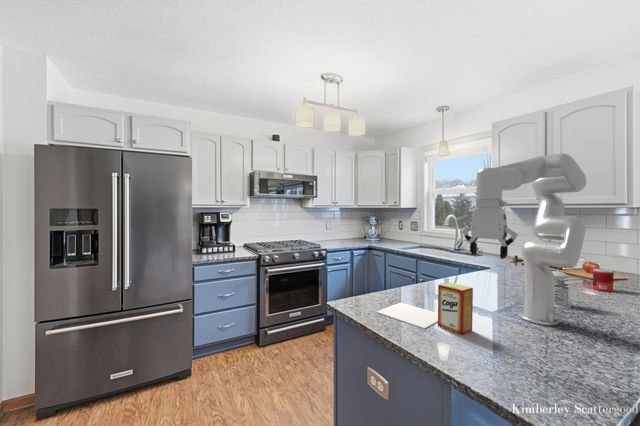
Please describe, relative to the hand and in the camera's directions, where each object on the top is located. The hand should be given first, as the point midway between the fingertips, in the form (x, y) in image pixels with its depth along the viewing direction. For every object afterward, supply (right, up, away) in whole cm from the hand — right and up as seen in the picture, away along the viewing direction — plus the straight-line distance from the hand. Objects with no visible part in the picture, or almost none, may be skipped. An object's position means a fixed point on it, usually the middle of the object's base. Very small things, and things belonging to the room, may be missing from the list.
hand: (488, 256), depth 99 cm
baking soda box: (-7, -28, +9) cm, 30 cm away
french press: (+52, -28, +37) cm, 69 cm away
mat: (-19, -28, +22) cm, 40 cm away
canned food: (+96, -27, +59) cm, 116 cm away
